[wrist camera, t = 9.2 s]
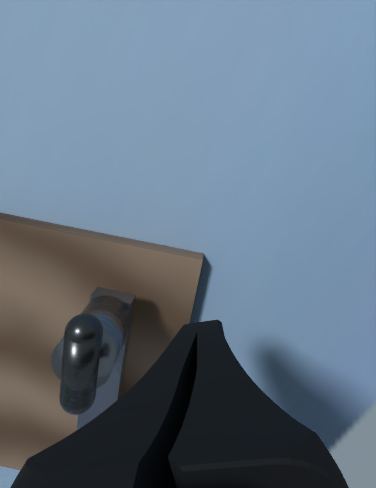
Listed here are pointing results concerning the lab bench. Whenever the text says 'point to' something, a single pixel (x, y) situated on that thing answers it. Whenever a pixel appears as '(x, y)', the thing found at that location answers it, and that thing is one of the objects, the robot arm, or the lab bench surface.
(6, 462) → the crank board
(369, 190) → the lab bench surface
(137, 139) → the lab bench surface
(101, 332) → the crank
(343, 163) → the lab bench surface
